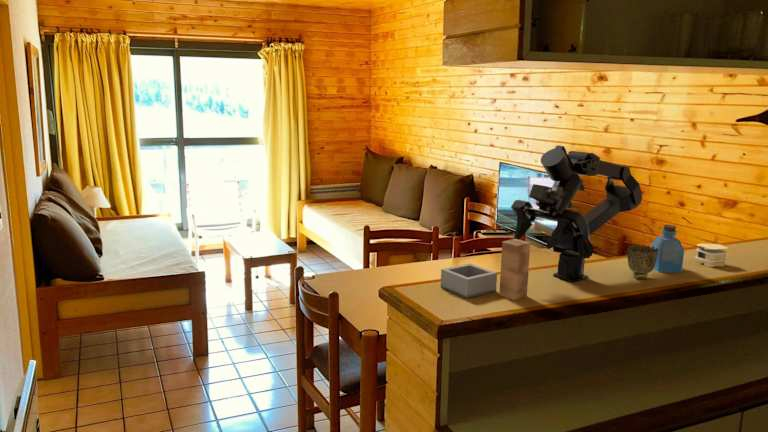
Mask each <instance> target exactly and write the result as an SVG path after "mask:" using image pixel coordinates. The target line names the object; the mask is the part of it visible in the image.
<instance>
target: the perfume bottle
mask: <svg viewBox="0 0 768 432" xmlns="http://www.w3.org/2000/svg"><path fill="white" fill-rule="evenodd" d="M676 229H677V226H676V225H674V224H663V228H662V230H661V231H662V232H661V234H662V235H658V236H657V237H656V238H655V239H654V240H653V241H652V243H651V246H650V249H651V248H652V247H654V249H656V248H658V250H659V252H658V256H657V260H656V264H655V267H654V269H653V270H654V271H655V272H657V271H658V272H657V273H674V272H677V273H679V274H680V273H682V272H683V264H684V255H685V248H684V246H683V245H682V242H681V241H680V239H679V238H676V235H677V230H676Z"/></svg>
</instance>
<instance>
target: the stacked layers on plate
mask: <svg viewBox="0 0 768 432" xmlns="http://www.w3.org/2000/svg"><path fill="white" fill-rule="evenodd" d="M696 246H699V247H697V248H696V250H695V251H697V253H696V254H695V256H694V257H695V259H699V260H702V261H704V263H703V265H704V266H705V267H709V268H714V267H724V266H725V264H726V262H727V261H728V259H727V258H726V255H727V254H729V252H727V251H725V249H728V247H727V246H725V245H723V244H720V243H719V244H717V243H697V245H696ZM723 249H724V250H723Z"/></svg>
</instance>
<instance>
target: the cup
mask: <svg viewBox="0 0 768 432" xmlns="http://www.w3.org/2000/svg"><path fill="white" fill-rule="evenodd" d="M626 250H627V265H628V267H629V269H630V270H631V272H632V276H633V278H635V279H637V280H638V279H639V280H646V279H648V276H649V274H650V273H651V272H652V271H654V270H655V269H654V267H655V264H656V260H657V256H658V252H659V250H658V248H656V249H654V247H652V248H651V246H650V245H647V246H646V245H643V246H641V244H638V245H635V244H632V245H628V247H627V249H626Z"/></svg>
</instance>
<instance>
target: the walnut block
mask: <svg viewBox="0 0 768 432" xmlns="http://www.w3.org/2000/svg"><path fill="white" fill-rule="evenodd" d="M530 253H531V242H529V241H525V240H522V239H519V240H518V239H514V238H511V239H509V240H504V241H502V243H501V259H500V260H501V262H500V276H499V277H500V279H499V294H498V295H499V296H501V297H504V298H507V299H510V300H513V301H517V300H520V299H524V298H527V296H528V283H529V282H528V281H529V270H530V269H529V268H530V255H531V254H530Z"/></svg>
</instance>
